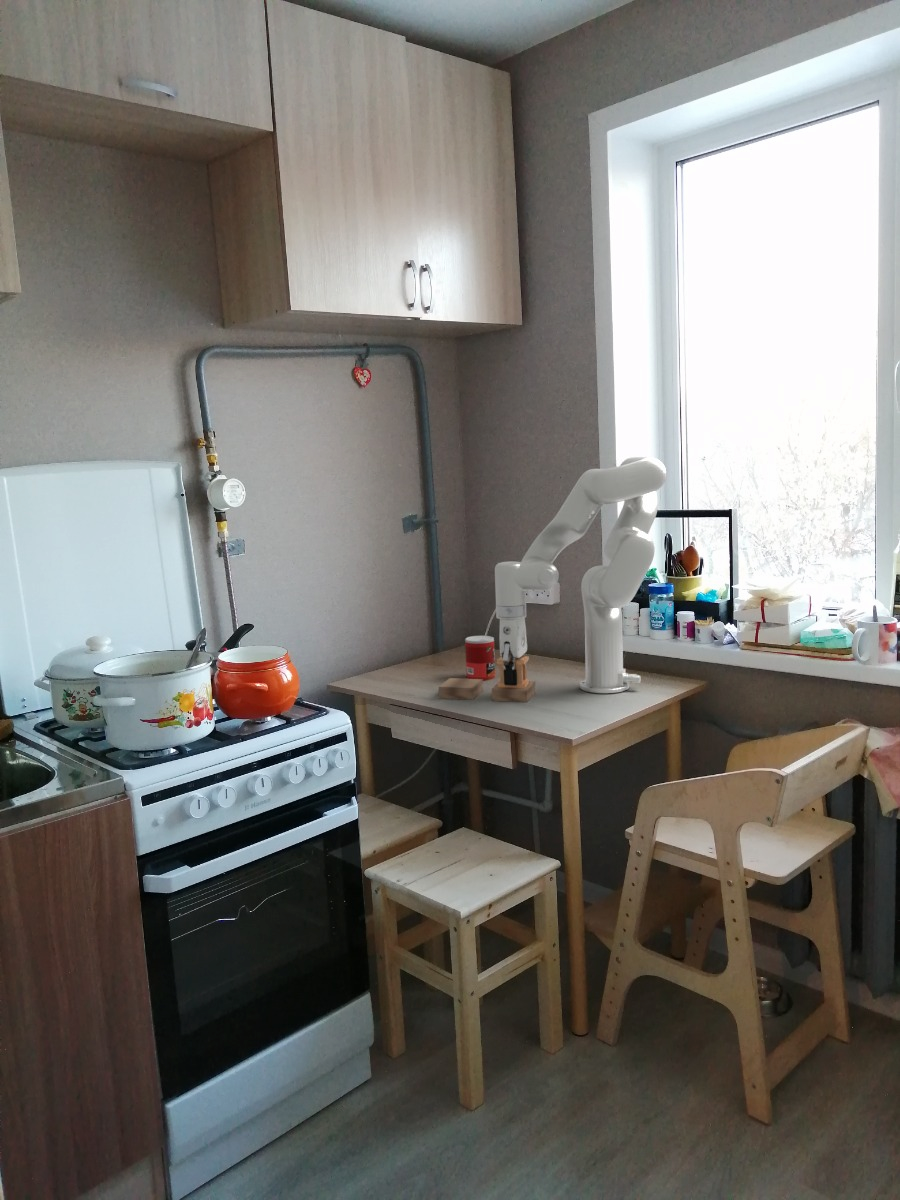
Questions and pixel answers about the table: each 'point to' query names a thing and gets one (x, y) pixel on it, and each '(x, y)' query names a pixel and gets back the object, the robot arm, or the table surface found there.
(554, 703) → the table surface
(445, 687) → the stand
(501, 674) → the housing
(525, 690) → the stand
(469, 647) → the canned food
